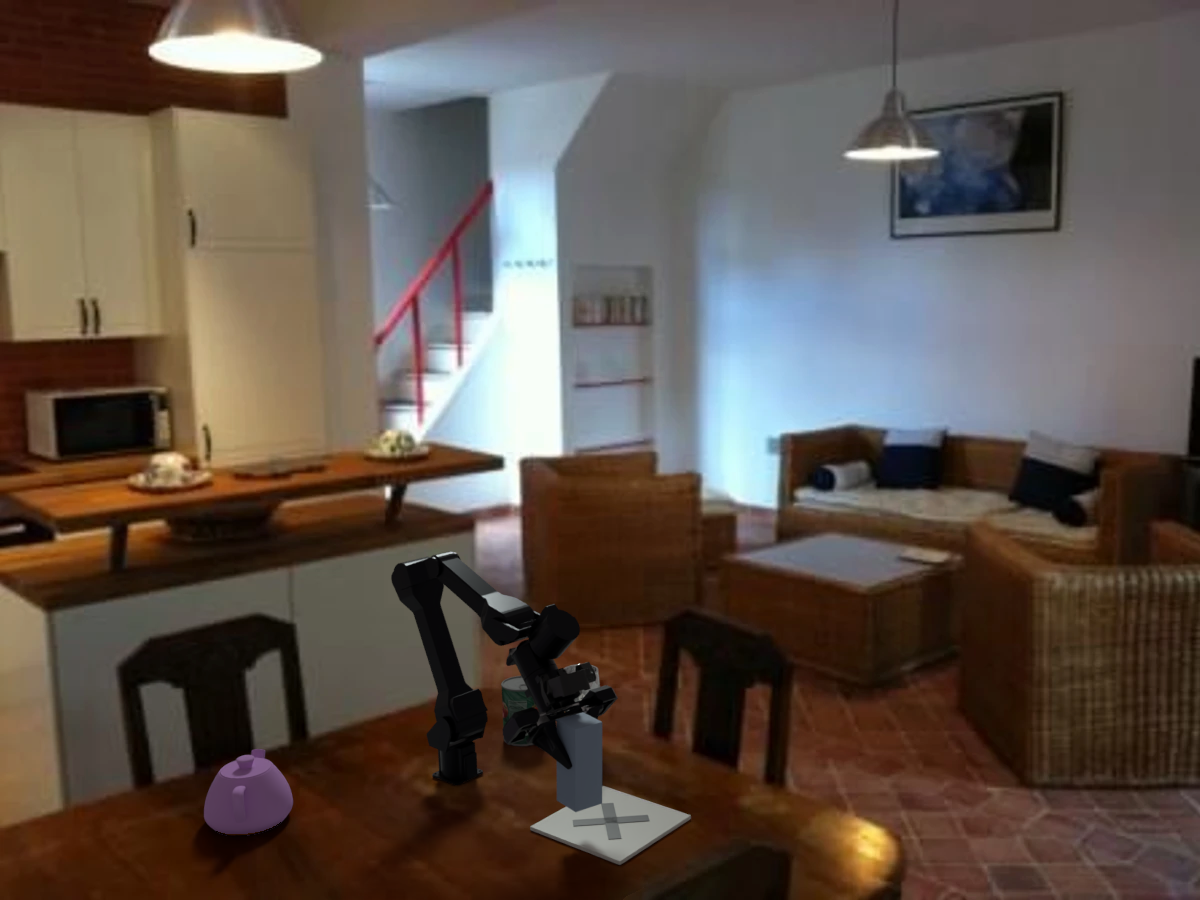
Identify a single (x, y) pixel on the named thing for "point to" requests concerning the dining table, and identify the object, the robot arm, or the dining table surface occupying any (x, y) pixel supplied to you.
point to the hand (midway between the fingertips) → (584, 763)
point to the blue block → (580, 762)
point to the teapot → (248, 796)
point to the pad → (612, 826)
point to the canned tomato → (515, 701)
